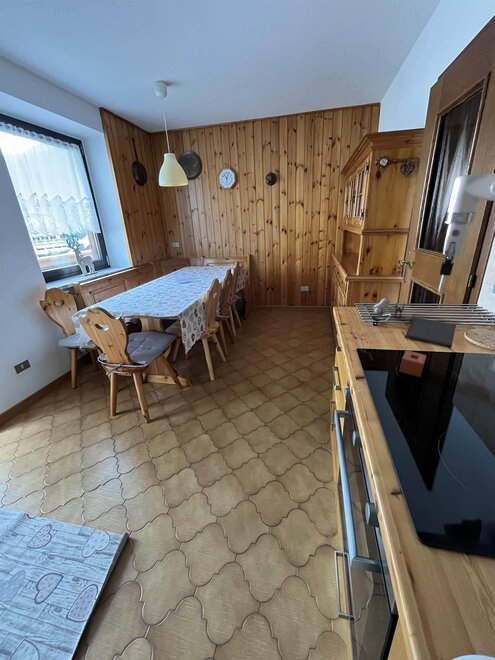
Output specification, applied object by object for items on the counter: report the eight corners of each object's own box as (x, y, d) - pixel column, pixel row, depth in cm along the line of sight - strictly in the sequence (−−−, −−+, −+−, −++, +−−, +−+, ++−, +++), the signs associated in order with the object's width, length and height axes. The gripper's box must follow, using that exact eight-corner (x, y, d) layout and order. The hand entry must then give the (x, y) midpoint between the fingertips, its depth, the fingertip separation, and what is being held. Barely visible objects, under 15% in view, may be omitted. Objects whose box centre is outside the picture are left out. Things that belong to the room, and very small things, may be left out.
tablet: (457, 327, 116) (458, 324, 115) (453, 348, 102) (454, 345, 101) (413, 319, 125) (414, 316, 124) (404, 337, 111) (405, 335, 110)
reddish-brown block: (423, 368, 92) (426, 355, 90) (420, 377, 88) (423, 364, 86) (403, 362, 96) (405, 350, 93) (399, 371, 91) (402, 358, 89)
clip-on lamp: (390, 332, 121) (405, 310, 131) (393, 320, 117) (409, 299, 127) (363, 322, 128) (380, 303, 137) (365, 311, 124) (382, 292, 133)
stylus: (441, 293, 102) (451, 258, 97) (441, 295, 102) (451, 258, 96) (437, 293, 103) (447, 257, 97) (437, 294, 102) (446, 258, 96)
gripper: (474, 221, 83) (457, 281, 91) (474, 215, 94) (459, 269, 103) (444, 221, 87) (430, 278, 95) (447, 215, 98) (434, 267, 107)
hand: (445, 273), depth 99 cm, fingers closed on stylus, 1 cm apart
